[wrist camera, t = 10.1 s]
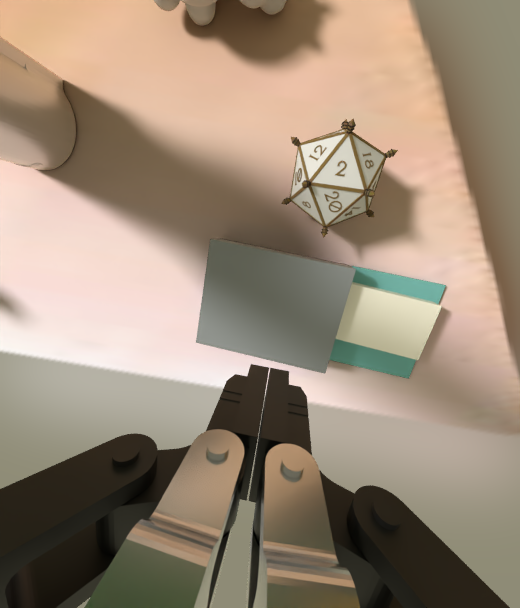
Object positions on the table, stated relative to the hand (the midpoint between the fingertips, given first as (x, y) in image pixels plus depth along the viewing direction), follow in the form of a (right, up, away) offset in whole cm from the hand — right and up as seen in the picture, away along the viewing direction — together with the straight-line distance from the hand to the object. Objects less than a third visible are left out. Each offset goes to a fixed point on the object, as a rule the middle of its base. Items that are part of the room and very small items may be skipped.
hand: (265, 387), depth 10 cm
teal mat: (+13, +1, +18) cm, 23 cm away
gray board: (+1, +4, +19) cm, 20 cm away
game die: (+7, +15, +16) cm, 23 cm away
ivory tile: (+13, +2, +18) cm, 22 cm away
